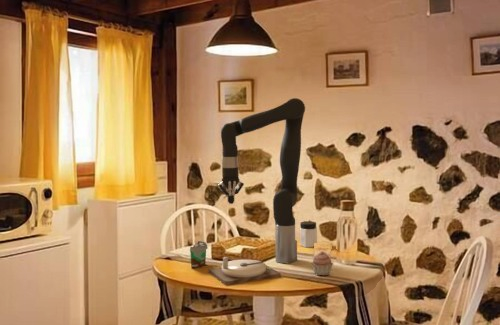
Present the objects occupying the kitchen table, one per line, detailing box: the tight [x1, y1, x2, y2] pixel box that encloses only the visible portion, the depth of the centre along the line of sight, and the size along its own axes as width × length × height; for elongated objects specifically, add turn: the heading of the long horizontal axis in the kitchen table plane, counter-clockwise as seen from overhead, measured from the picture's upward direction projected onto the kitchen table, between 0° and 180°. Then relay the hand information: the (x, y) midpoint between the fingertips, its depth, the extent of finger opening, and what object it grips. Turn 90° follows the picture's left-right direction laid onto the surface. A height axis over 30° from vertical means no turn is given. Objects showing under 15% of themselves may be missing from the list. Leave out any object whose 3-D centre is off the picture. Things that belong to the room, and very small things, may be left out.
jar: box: [299, 220, 318, 248], centre depth 282 cm, size 9×8×12 cm
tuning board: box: [207, 264, 282, 286], centre depth 233 cm, size 25×20×2 cm
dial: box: [221, 256, 267, 278], centre depth 233 cm, size 19×19×7 cm
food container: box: [189, 240, 209, 269], centre depth 248 cm, size 12×6×10 cm, turn 168°
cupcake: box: [310, 250, 334, 276], centre depth 232 cm, size 9×9×10 cm
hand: (230, 203), depth 254 cm, fingers closed
